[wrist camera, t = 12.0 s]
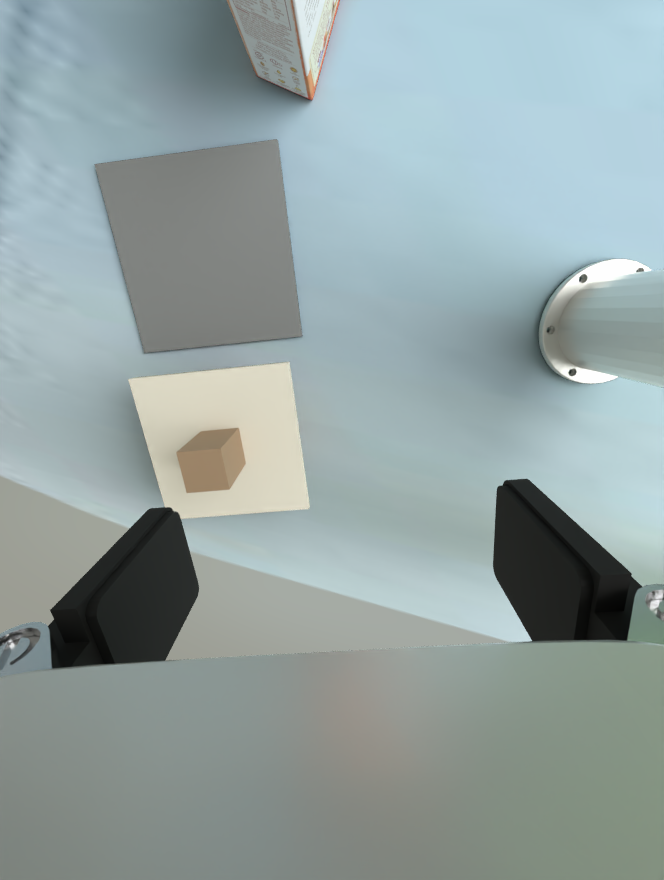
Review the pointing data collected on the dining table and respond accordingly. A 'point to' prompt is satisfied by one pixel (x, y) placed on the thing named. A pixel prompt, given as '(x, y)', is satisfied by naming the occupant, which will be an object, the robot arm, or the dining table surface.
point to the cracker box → (286, 39)
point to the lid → (224, 440)
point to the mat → (204, 245)
